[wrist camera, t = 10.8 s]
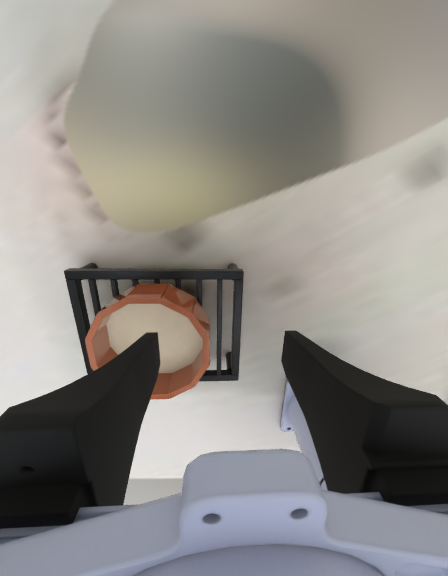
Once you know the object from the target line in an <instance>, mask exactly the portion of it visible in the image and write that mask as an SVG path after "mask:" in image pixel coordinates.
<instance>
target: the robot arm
mask: <svg viewBox="0 0 448 576" xmlns="http://www.w3.org/2000/svg"><path fill="white" fill-rule="evenodd" d="M281 361H282V364H283V368H284V371H285V374H286V377H287V382H286V389H285V397H284V404H283V411H282V418H281V425H280V428H281V430H282V431H284V432H287V431H294V433H295V436H296V438H297V441H298V444H299V447H300V449H301V452H302V453H301V452H299V451H294V450H287V449H272V450H247V451H223V452H212V453H208V454H203V455H200V456H199V457H197V458H196V459H195V460H193V461H192V462H191V463H189V464H188V465H187V467H186V470H185V473H184V476H183V487H182V493H178V494H175V495H171V496H168V497H165V498H161V499H157V500H154V501H150V502H147V503H144V504H140V505H123V503H124V498H125V493H126V488H127V484H128V479H129V474H130V470H131V465H132V461H133V457H134V452H135V448H136V444H137V440H138V436H139V432H140V428H141V424H142V421H143V418H144V415H145V412H146V409H147V406H148V404H149V401H150V398H151V395H152V392H153V390H154V387H155V384H156V381H157V377H158V373H159V368H160V363H161V362H160V351H159V341H158V332H147V333H145V334H144V335H143V336H141V337H140V338H139V339H138V340H137V341H135V342H134V343H133V344H132V345H130V346H129V347H128V348H127V349H125V350H124V351H123V352H122V353H120V354H119V355H117V356H116V357H115V358H113V359H112V360H111V361H109V362H108V363H106V364H105V365H103V366H102V367H100V368H98V369H97V370H95V371H93V372H92V373H90V374H88V375H86V376H84V377H82V378H80V379H78V380H76V381H74V382H73V383H71V384H69V385H66V386H64V387H62V388H60V389H58V390H55V391H53V392H50V393H48V394H46V395H43V396H40V397H38V398H35V399H32V400H29V401H27V402H24V403H21V404H18V405H15V406H12V407H9V408H8V409H7V410H6V411H5V412H4V413H3V414H2V415H1V416H0V576H448V405H447V404H446V403H445V402H443V401H442V400H441V399H440V398H439V397H438V396H436V395H433V394H430V393H426V392H423V391H419V390H416V389H412V388H408V387H405V386H402V385H399V384H396V383H393V382H390V381H388V380H385V379H382V378H380V377H377V376H375V375H372V374H370V373H368V372H365V371H363V370H361V369H359V368H357V367H355V366H353V365H351V364H349V363H347V362H345V361H343V360H341V359H339V358H338V357H336V356H334V355H332V354H331V353H329V352H327V351H326V350H324V349H323V348H321V347H320V346H318V345H317V344H315V343H314V342H312V341H311V340H309V339H308V338H306V337H305V336H303V335H302V334H300V333H299V332H297V331H285V336H284V344H283V352H282V360H281Z"/></svg>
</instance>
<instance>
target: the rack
mask: <svg viewBox="0 0 448 576" xmlns="http://www.w3.org/2000/svg"><path fill="white" fill-rule="evenodd" d="M64 274H65V278H66V282H67V287H68V291H69V295H70V300H71V304H72V308H73V313H74V317H75V321H76V326H77V330H78V335H79V339H80V343H81V348H82V352H83V356H84V361H85V365H86V369H87V374H90V373H92V372H93V371H94V370H93V369H92V368H91V366H90V362H89V357H88V353H87V348H86V344H85V338H86V336H87V334H88V332H89V329H90V323H89V318H88V314H87V309H86V304H85V299H84V294H83V289H82V285H81V280H83V279H89V280H88V281H89V286H90V291H91V297H92V302H93V307H94V312H95V317H96V314H97V313H98V312H99V311H100V310H101V307H100V301H99V296H98V290H97V285H96V279H111V280H110V281H111V287H112V293H113V298H114V297H115V296H117V295H119V289H118V282H117V279H133V280H132V282H133V286H135V285H136V284H139V279H154V283H160V279H176V280H175V282H176V288H178V289H180V290H181V279H197V301H198V302H199V304H200V305H201V307H202V279H217V370H206V371H205V372H204V374H203V375H202V377H201V378H200V380H199V381H234V380H238V376H239V375H238V374H239V356H240V335H241V315H242V294H243V275H244V272H243V269H238V267H237V265H235V264H230V265H229V266H228V269H98V268H97V266H96V265H95V264H93V263H90V264H88V265H86V266H84V267H82V268H70V269H67V270H65V271H64ZM222 279H232V280H234V291H233V321H232V350H231V352H228V353H227V354H226V363H227V370H221V342H222Z"/></svg>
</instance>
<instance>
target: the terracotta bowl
mask: <svg viewBox="0 0 448 576" xmlns="http://www.w3.org/2000/svg"><path fill="white" fill-rule="evenodd" d="M147 332H158V341H159V351H160V362H161V363H160V368H159V373H158V377H157V381H156V384H155V387H154V390H153V392H152V395H151V398H150V399H169V398H172V397H174V396H177V395H179V394H181V393H183V392H185V391H187V390H189V389H191V388H193V387H194V386H196V384H197V383H198V381H199V380H200V378H201V377H202V375H203V374H204V372H205V371H206V370H207V368H208V367H209V364H210V320H209V317H208V316H207V314H206V313H205V311H204V310H203V308H202V307H201V305H200V304H199V302H198V301H197V299H196V298H195V297H194V296H192V295H190V294H188V293H186V292H184V291H182V290H180V289H178V288H176V287H175V286H173V285H171V284H168V283H139V284H136V285H135V286H133V287H131V288H129V289H128V290H126V291H124V292H122V293H121V294H119V295H117V296H115V297H114V298H113V299H112V300H111V301H110V302H109V303H108V304H107V305H106V306H105V307H103V308H102V309H101V310H100V311H99V312H98V313H97V314H96V317H95V319H94V321H93V323H92V325H91V327H90V329H89V332H88V334H87V336H86V338H85V344H86V348H87V353H88V357H89V362H90V366H91V368H92V369H93V370H94V371H95V370H97V369H98V368H100V367H102V366H103V365H105V364H106V363H108V362H109V361H111V360H112V359H113V358H115V357H116V356H117V355H119V354H120V353H122V352H123V351H124V350H125V349H127V348H128V347H129V346H130V345H132V344H133V343H134V342H135V341H137V340H138V339H139V338H140V337H141V336H143V335H144V334H145V333H147Z"/></svg>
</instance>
